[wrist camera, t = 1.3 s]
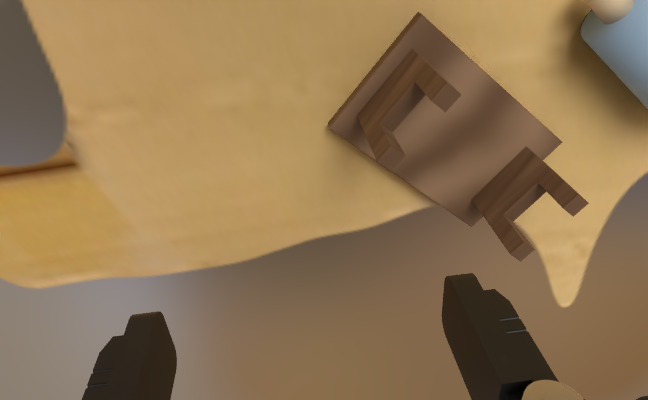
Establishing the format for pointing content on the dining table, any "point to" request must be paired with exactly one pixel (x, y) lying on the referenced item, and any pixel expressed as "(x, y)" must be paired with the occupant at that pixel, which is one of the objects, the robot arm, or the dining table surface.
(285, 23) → the dining table surface
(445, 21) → the dining table surface
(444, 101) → the roll holder
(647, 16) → the towel roll
